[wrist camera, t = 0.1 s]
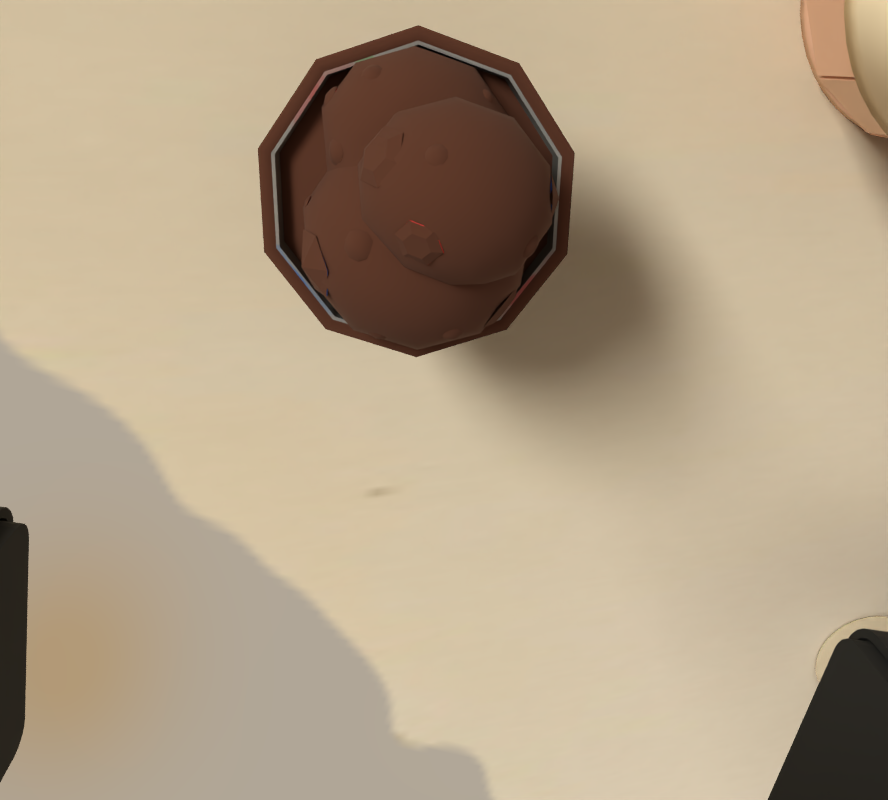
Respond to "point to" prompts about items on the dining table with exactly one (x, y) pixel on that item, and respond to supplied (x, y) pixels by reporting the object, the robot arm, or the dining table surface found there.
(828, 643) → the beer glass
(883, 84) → the lid
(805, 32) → the bowl
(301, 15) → the dining table surface
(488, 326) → the ice cream bowl
